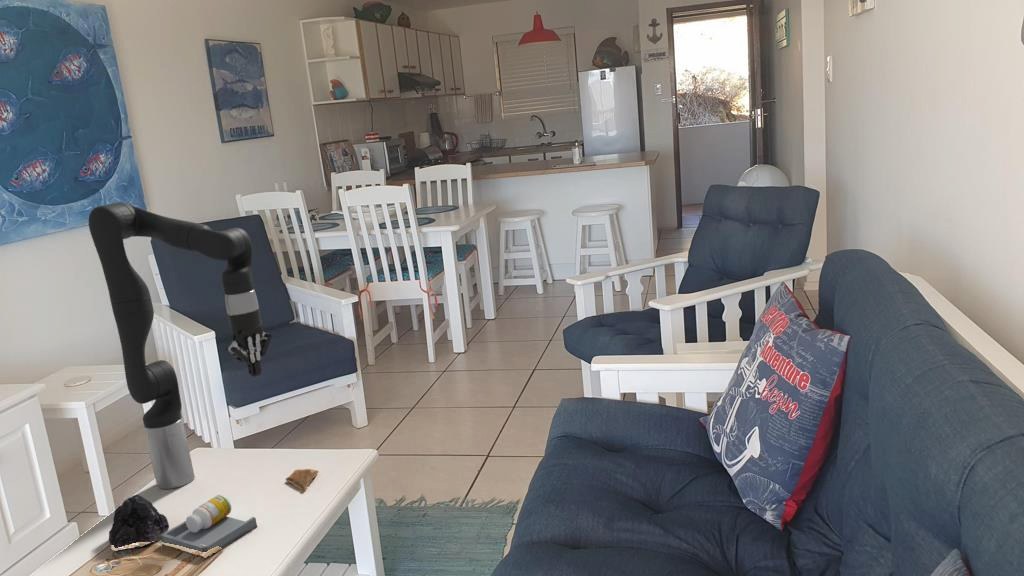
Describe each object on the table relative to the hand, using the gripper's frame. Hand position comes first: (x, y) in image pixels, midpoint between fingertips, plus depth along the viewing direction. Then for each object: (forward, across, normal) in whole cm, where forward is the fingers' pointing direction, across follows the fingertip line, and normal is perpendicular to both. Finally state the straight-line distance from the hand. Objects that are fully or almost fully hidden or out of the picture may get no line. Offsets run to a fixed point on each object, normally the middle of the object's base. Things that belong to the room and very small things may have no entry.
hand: (255, 375), depth 199 cm
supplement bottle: (+26, +18, +3) cm, 32 cm away
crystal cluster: (+29, +33, -10) cm, 45 cm away
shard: (+30, -3, +8) cm, 31 cm away
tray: (+29, +26, +7) cm, 40 cm away
